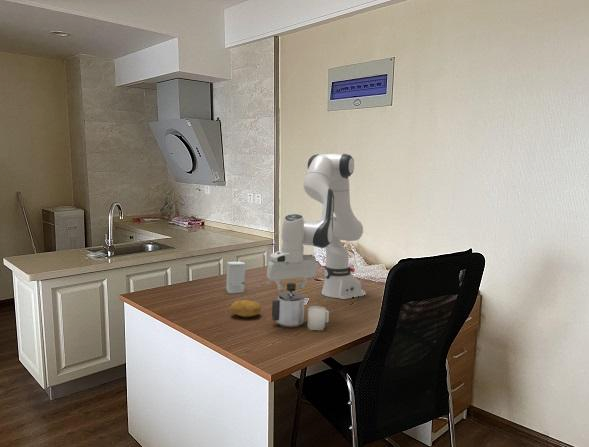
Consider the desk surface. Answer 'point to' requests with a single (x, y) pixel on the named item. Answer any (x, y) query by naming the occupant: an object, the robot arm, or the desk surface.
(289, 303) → the carafe
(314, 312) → the white ceramic cylinder
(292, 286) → the plunger
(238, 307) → the potato
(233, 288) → the skincare box
